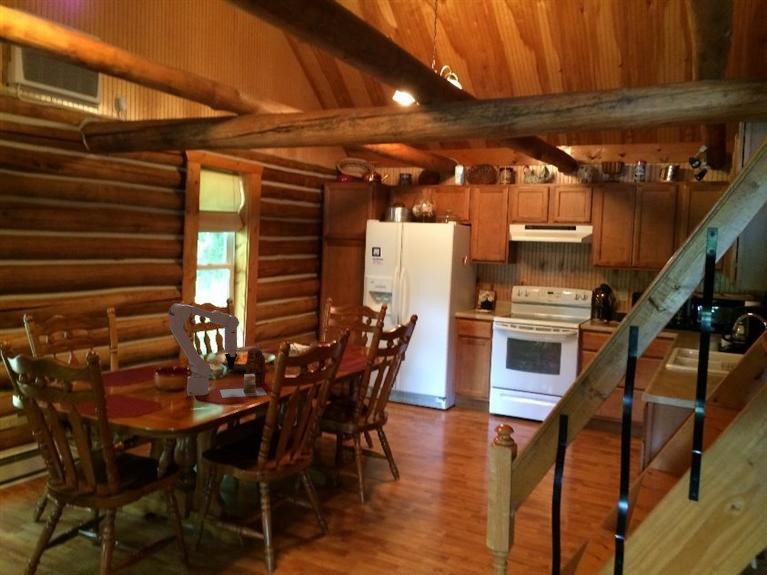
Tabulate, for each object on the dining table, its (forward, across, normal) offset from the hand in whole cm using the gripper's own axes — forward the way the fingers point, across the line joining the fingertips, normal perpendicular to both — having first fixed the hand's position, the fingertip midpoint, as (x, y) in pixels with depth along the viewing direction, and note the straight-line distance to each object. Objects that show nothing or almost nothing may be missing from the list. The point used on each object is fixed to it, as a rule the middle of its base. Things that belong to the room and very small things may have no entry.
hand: (230, 368), depth 295 cm
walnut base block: (+10, -8, -8) cm, 15 cm away
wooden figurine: (+11, +10, -13) cm, 19 cm away
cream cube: (+6, -8, -8) cm, 12 cm away
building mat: (+10, -8, -5) cm, 14 cm away
